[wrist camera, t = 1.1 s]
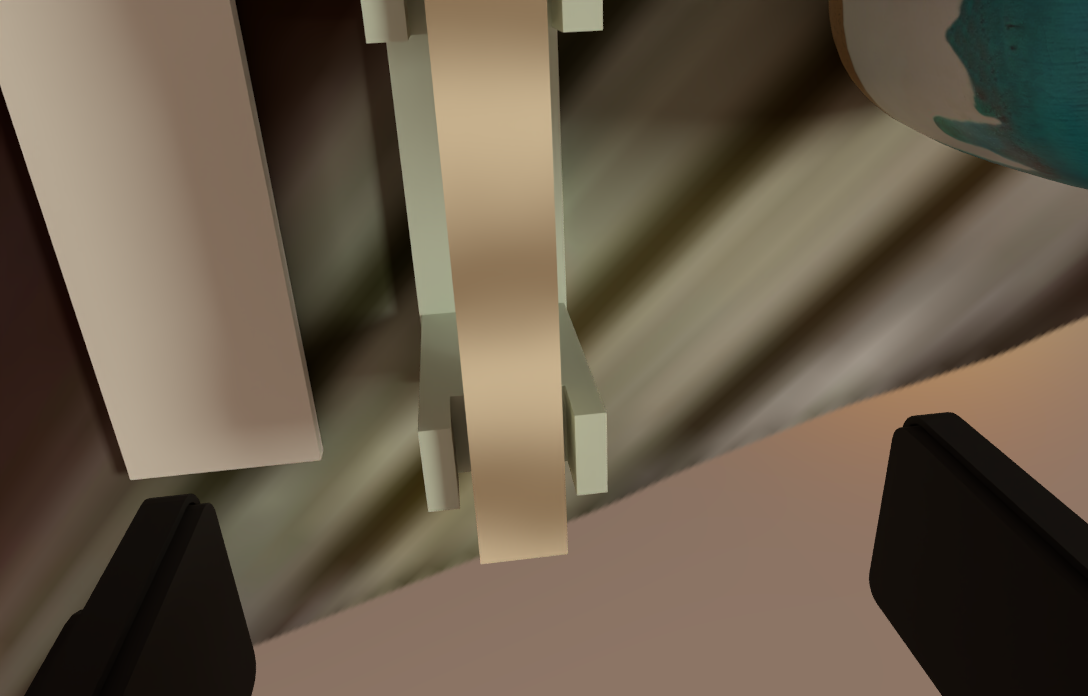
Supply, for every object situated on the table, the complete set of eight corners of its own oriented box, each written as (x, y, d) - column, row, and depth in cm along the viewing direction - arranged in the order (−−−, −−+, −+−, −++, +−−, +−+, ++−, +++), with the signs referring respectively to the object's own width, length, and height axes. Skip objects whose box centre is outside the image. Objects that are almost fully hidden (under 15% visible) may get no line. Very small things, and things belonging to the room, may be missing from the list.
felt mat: (-77, -189, 24) (-92, -194, 23) (196, -196, 25) (189, -202, 24) (136, 469, 34) (130, 480, 34) (323, 450, 35) (320, 460, 34)
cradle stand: (371, -93, 26) (339, -125, 18) (548, -101, 27) (605, -135, 18) (429, 380, 34) (426, 524, 25) (565, 367, 35) (610, 504, 26)
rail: (409, -167, 19) (405, -189, 16) (525, -170, 19) (539, -193, 17) (476, 506, 28) (480, 564, 25) (554, 497, 28) (567, 554, 25)
